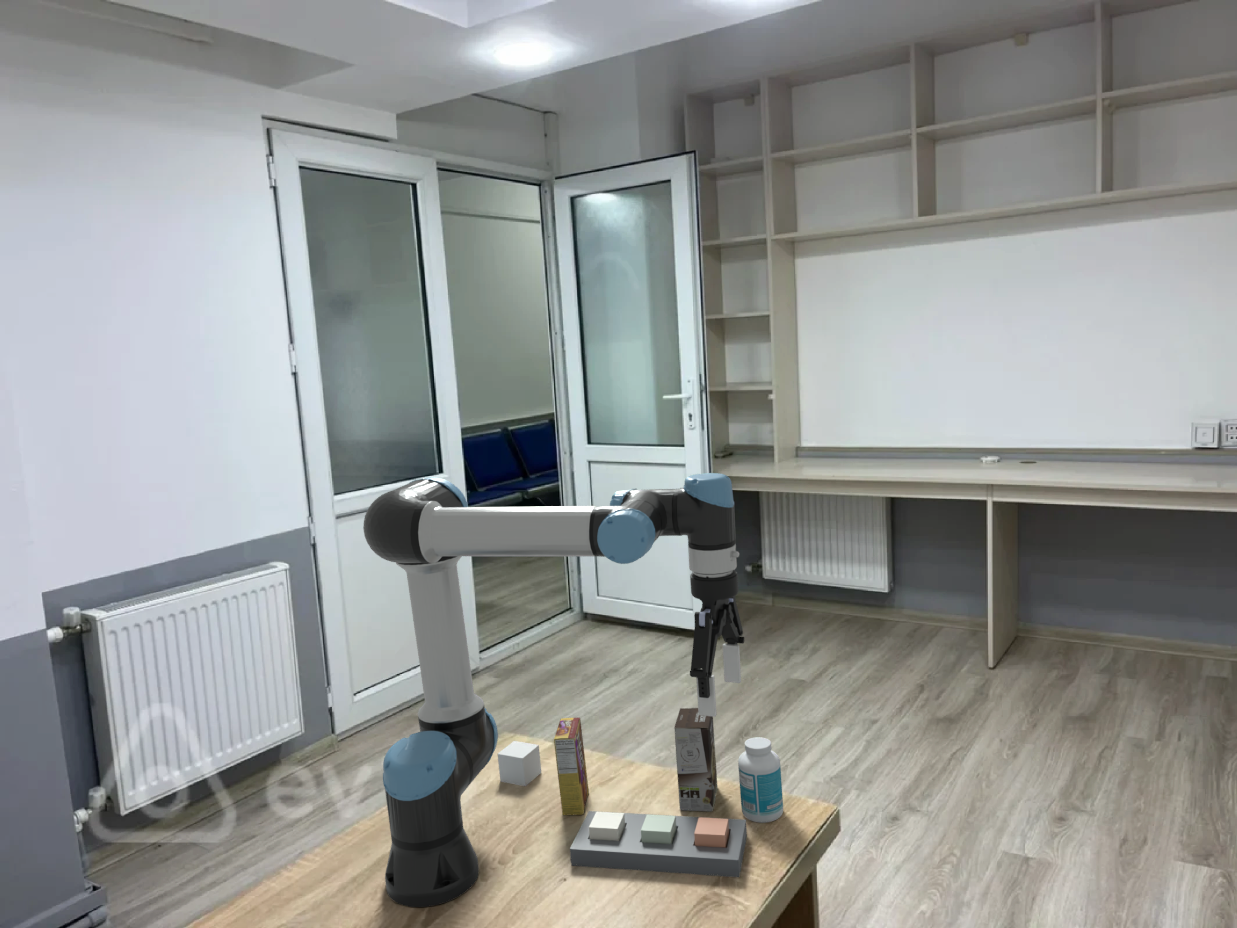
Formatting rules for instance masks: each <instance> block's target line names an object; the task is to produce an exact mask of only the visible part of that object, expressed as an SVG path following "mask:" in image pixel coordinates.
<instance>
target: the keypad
mask: <svg viewBox="0 0 1237 928" xmlns="http://www.w3.org/2000/svg"><path fill="white" fill-rule="evenodd" d="M596 812H600V811H597V810H588V811H587V814H586V816H585V818H584V819H583V821H582V823H581V825H580V828H579V830H578V832H577V834H576V835H575V838H574V840H573V842H572V844H571V845H570V847H569V853H570V855H569V858H570V865H571V866H574V867H585V868H586V867H587V868H599V869H602V868H603V869H615V870H616V869H617V870H629V871H642V872H655V873H657V872H658V873H669V874H670V873H671V874H687V875H699V876H700V875H701V876H714V877H715V876H716V877H727V878H729V877H730V878H740V877H741V872H742V871H741V870H742V867H743V866H742V864H743V859H744V853H745V848H746V842H747V837H748V832H747V831H748V830H747V820H746V819H744V818H743V819H738V818H727V819H728V822H729V841H728V845H727V848H721V847H706V846H695V837H694V833H695V829H696V825H697V822H698V818H699V817H700V816H688V815H687V816H684V815H683V816H682V815H675V816H676V829H677V832H676V835H675V838H674V841H673V844H658V843H642V840H641V828H642V826H643V823H644V821H645V818H646V815H647V814H649V813H636V812H635V813H631V812H623V813H624V816H625V830H624V832H623V834H622V837H621V839H620V841H611V840H595V839H590V835H589V826H590V824H591V822H592V820H593V818H594V815H595V813H596ZM612 812H613V813H618V811H617V812H615V811H612ZM649 815H654V814H653V813H652V814H651V813H650V814H649ZM665 815H666V816H672V815H669V814H668V815H667V814H665ZM701 817H702V818H708V817H704V816H701ZM719 818H720V817H719ZM720 819H726V818H725V817H724V818H722V817H721V818H720Z"/></svg>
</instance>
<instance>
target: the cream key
mask: <svg viewBox="0 0 1237 928" xmlns="http://www.w3.org/2000/svg"><path fill="white" fill-rule="evenodd" d="M613 812H614V811H612V812H611V811H599V812H596V813H595V815H594V818H593V820H592V822H591V824H590V826H589V835H590V839H595V840H611V841H620V839H621V837H622V834H623V832H624V830H625V816H624V813H625V812H617V813H613Z"/></svg>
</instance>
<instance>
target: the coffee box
mask: <svg viewBox="0 0 1237 928" xmlns="http://www.w3.org/2000/svg"><path fill="white" fill-rule="evenodd" d="M714 727H715V726H714V717H712V716H704V715H699V713H698V707H691V708H688V707H687V708H683V707H681V708H679V711H678V715H677V718H676V720H675V725H674V728H673V729H674V739H675V740H674V741H675V742H674V743H675V755H676V756H675V757H676V758H675V759H676V772H677V773H676V774H677V787H678V788H677V789H678V799H679V800H678V804H679V810H680V811H690V812H691V811H692V812H713V811H714V808H715V803H716V796H717V793H718V774H717V758H716V757H717V756H716V745H715V743H716V742H715V731H714V729H715V728H714Z"/></svg>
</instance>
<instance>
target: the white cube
mask: <svg viewBox="0 0 1237 928" xmlns="http://www.w3.org/2000/svg"><path fill="white" fill-rule="evenodd" d="M540 754H541V753H540V745H539V744H535V743H529V742H524V741H517V740H513V741H512V742H511V743H509V744H508V745H507V746H506V747H504V748H503V749H501V750H500V751H499V752H498V753H497V762H498V771H499V781H500V782H501V783H505V784H511V785H516V786H522V787H526V786H528V785H529V784H530V783H532V781H534V779H536V778H537V777H538V776H539V775H540V774H542V766H541V765H542V763H541V755H540Z"/></svg>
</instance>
